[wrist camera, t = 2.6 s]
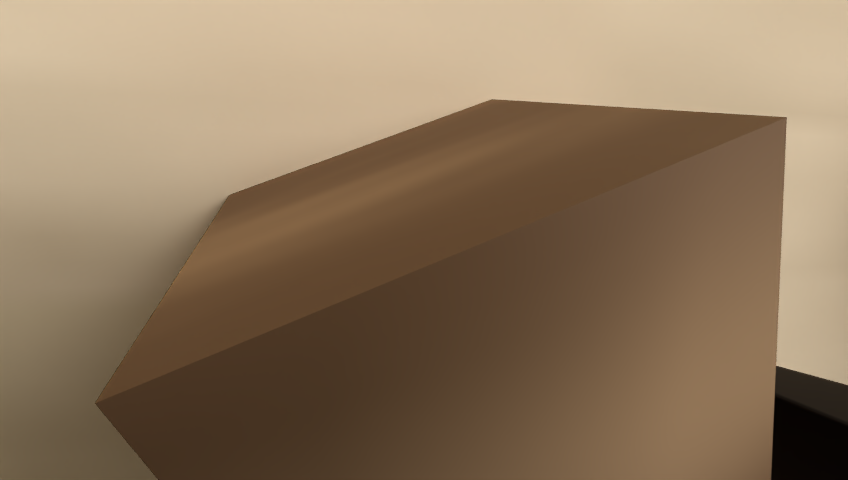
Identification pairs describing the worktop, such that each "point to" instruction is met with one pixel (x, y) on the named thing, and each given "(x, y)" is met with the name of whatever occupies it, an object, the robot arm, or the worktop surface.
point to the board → (480, 308)
